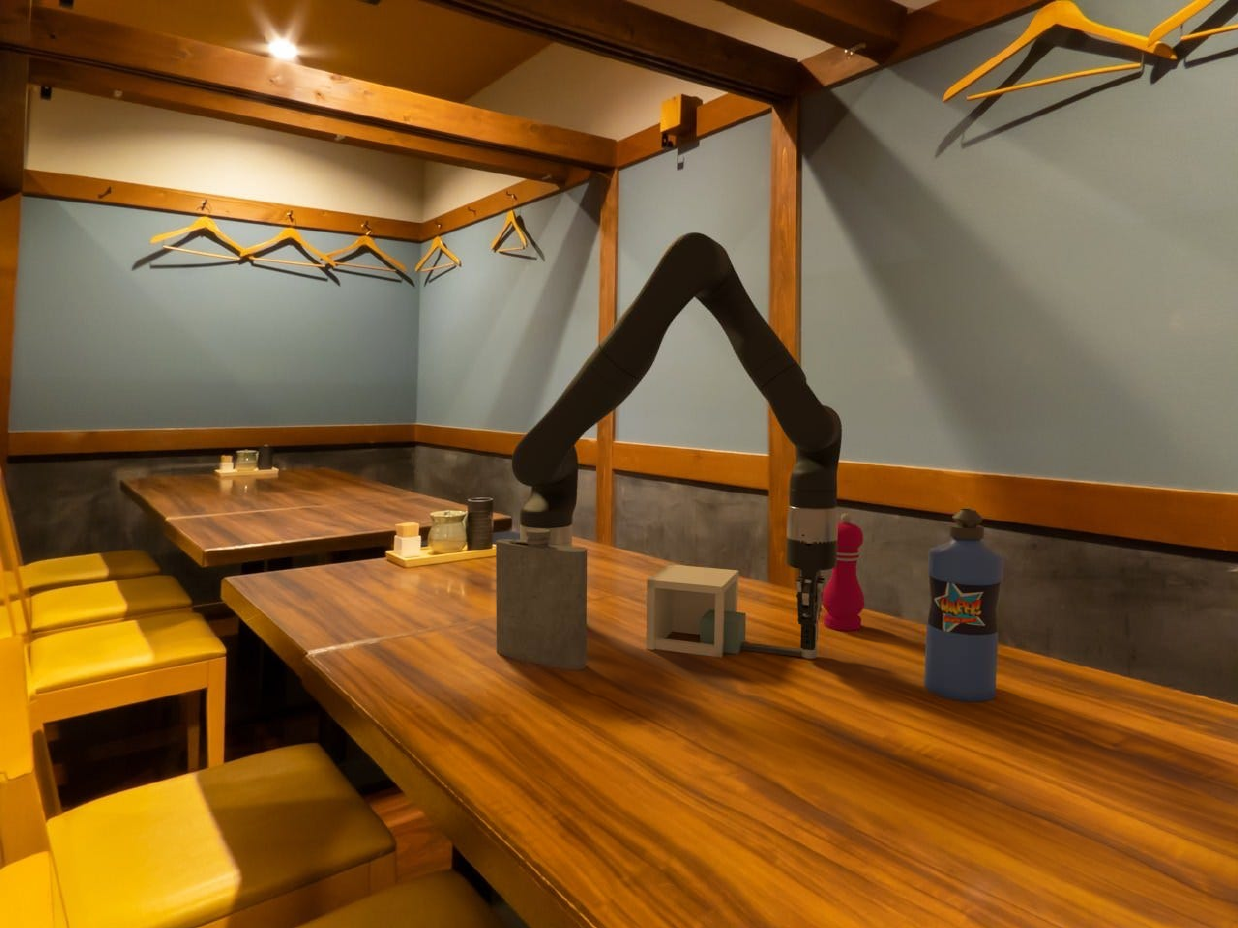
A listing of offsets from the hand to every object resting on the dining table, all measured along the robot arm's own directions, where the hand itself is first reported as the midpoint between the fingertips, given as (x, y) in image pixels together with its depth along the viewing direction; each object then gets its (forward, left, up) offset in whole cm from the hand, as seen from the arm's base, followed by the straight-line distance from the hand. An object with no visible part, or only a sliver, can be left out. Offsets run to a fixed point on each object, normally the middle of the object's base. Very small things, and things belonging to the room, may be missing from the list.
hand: (809, 645), depth 118 cm
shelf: (-19, 0, -2) cm, 19 cm away
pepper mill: (+3, +19, -2) cm, 19 cm away
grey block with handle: (-8, 0, -2) cm, 8 cm away
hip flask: (-38, -17, -2) cm, 42 cm away
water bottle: (+21, -6, -2) cm, 22 cm away
